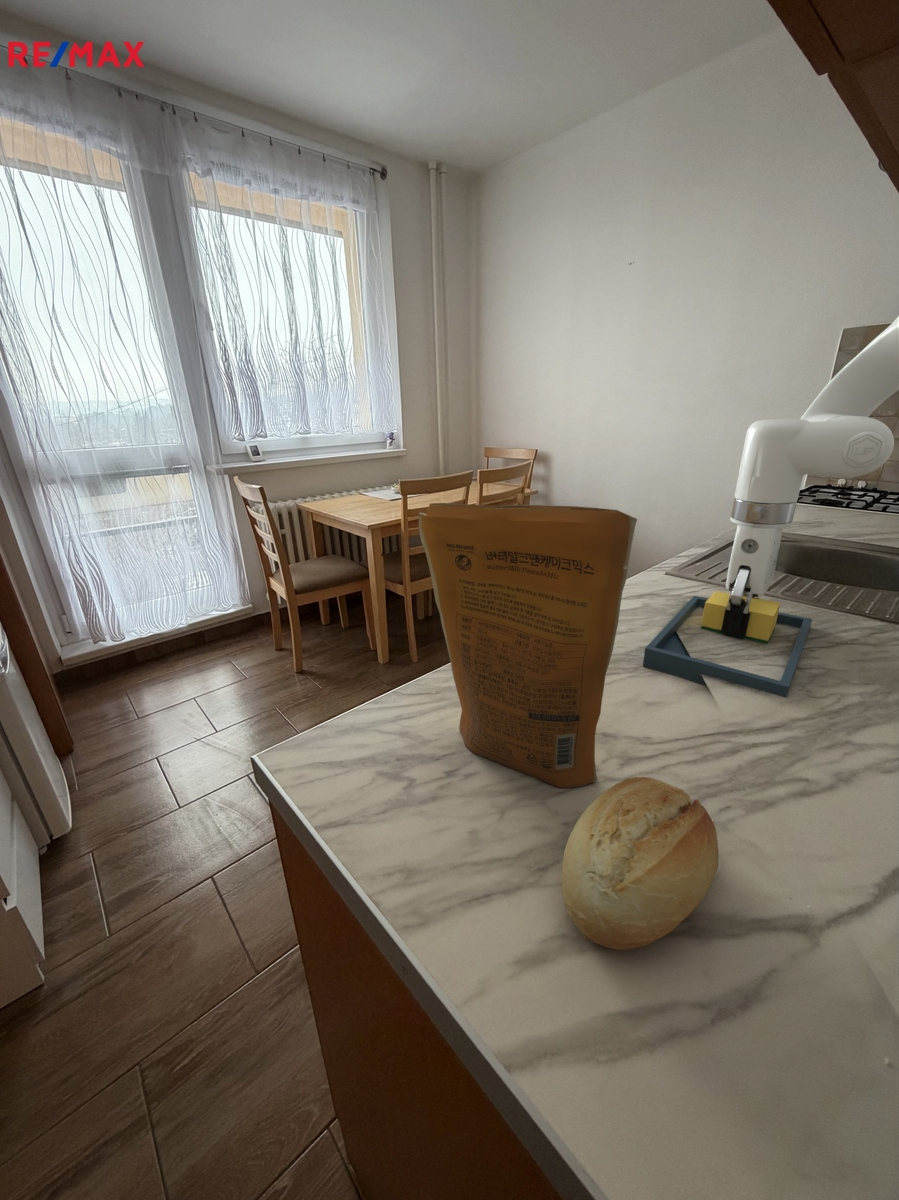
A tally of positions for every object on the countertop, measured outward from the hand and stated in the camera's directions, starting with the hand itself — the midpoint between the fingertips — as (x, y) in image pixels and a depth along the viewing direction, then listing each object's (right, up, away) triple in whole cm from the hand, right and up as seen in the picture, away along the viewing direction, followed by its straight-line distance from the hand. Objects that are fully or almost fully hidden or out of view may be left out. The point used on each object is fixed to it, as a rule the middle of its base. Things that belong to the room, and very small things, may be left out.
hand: (738, 625), depth 75 cm
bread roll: (-30, -19, -37) cm, 51 cm away
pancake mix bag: (-37, -13, -23) cm, 46 cm away
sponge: (0, -1, 0) cm, 1 cm away
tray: (-3, -4, -3) cm, 6 cm away
